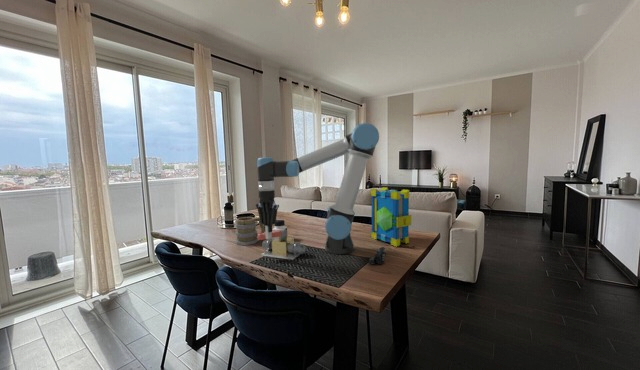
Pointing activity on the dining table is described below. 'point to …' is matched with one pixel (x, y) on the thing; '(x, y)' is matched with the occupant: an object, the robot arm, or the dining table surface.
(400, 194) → the decorative book
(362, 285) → the dining table surface
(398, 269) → the dining table surface
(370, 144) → the robot arm
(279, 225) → the medicine bottle
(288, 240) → the valve
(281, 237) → the lever
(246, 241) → the tankard
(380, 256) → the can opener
